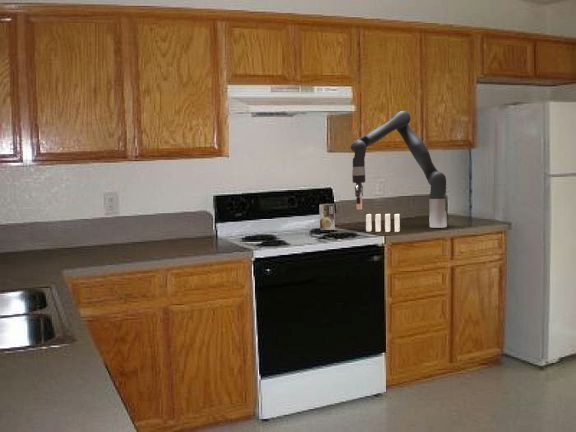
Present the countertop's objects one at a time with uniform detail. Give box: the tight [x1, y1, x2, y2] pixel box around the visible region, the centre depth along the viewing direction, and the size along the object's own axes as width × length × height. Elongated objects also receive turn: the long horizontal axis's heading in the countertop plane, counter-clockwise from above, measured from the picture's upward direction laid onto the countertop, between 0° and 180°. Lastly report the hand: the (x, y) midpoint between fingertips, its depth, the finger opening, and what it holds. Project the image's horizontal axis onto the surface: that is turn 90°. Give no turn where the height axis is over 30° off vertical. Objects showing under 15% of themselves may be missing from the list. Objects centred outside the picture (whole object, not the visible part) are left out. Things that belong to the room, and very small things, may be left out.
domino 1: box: [355, 192, 363, 210], centre depth 356 cm, size 2×5×10 cm, turn 163°
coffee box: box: [318, 203, 336, 231], centre depth 367 cm, size 9×6×16 cm
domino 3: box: [374, 213, 382, 233], centre depth 353 cm, size 2×5×10 cm, turn 163°
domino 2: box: [365, 213, 373, 233], centre depth 355 cm, size 2×5×10 cm, turn 163°
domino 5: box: [394, 213, 401, 233], centre depth 350 cm, size 2×5×10 cm, turn 163°
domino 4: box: [384, 213, 391, 233], centre depth 352 cm, size 2×5×10 cm, turn 163°
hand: (359, 203), depth 356 cm, fingers closed on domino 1, 5 cm apart
